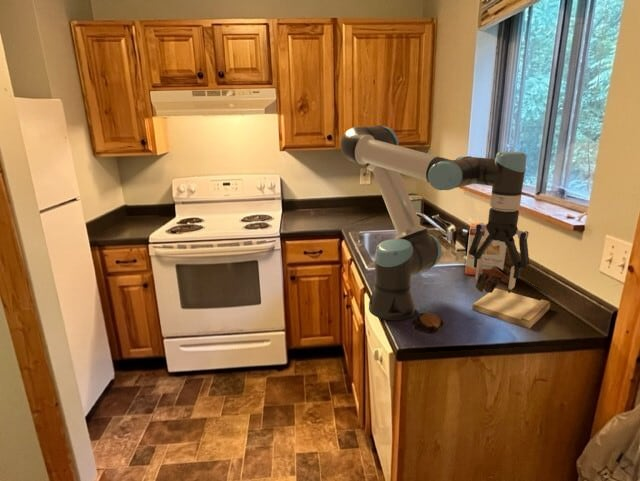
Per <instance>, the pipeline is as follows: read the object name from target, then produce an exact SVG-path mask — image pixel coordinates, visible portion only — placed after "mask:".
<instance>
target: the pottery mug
mask: <svg viewBox="0 0 640 481" xmlns="http://www.w3.org/2000/svg"><path fill="white" fill-rule="evenodd" d="M487 276H488V277H487ZM509 280H510V274H509V273H508V272H507V271H505V270H504V269H503V270H502V269H500V268H499V267H497V266H493V267H492V268H491V269H487V270H485V271H484V272H483V273H482V274H481V275H480V277H479V279H478V280H476V284H475V288H476V289H477V291H479V292H480V293H483V291H485V292H486V293H492V291H493V290H494V289H495V288H497V286H498V285H499V283H500V282H503V283H505V284H507V285H508V286H509ZM512 290H513V288H512V289H508V291H507V292H508V293H510V292H511V293H512Z"/></svg>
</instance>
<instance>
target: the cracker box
mask: <svg viewBox="0 0 640 481" xmlns="http://www.w3.org/2000/svg"><path fill="white" fill-rule="evenodd" d="M480 223H481V222H470V223H469V224H470V226H469V235H468V241H467V242H468V243H467V252H466V261H465V262H466V263H465V268H464V269H465V270H464V271H465V272H464V274H465V275H471V276H476V268H474V259H475V258H474V256H472V255H470V254H469V250H470V248H471V245H472V242H473V239H474V237H475V234H476V226H477V225H478V224H480ZM488 235H489V233H488V231H487V229H485V231H484V232H483V235H482V238H481V240H480V243H479V246H478V248H477V251H478V250H479V248H480V247H481V246H482V244H483V243H484V242H485V240H486V238H487V237H488ZM506 251H507V246H506V244H505V242H501V241H499V240H497V241H496V240H493V241H492V242H491V244H490V245H489V246H488V248H487V249H486V250H485V252H484V253H483V254H482V256H481V257H484V261H483V269H482V273H483V272H484V271H485V270H487V269H491V268H492V267H493V266H497V267H499V268H500V269H502V270H504V266H505V259H506ZM487 278H488V276H487Z"/></svg>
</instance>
